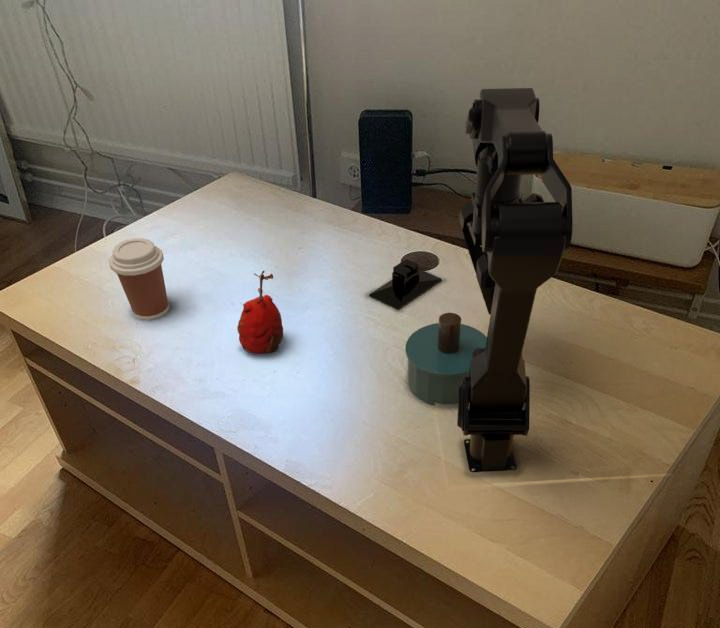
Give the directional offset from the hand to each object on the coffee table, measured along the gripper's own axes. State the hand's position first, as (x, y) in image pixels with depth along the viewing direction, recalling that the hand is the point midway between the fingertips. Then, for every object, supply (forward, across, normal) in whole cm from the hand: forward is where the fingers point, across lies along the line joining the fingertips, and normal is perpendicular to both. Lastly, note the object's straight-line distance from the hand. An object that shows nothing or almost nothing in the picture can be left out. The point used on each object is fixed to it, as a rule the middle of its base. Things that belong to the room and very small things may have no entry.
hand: (486, 295), depth 106 cm
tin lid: (+7, -4, +6) cm, 10 cm away
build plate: (+13, +23, +9) cm, 28 cm away
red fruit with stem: (+13, +9, +35) cm, 38 cm away
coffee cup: (+13, +22, +55) cm, 61 cm away
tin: (+13, -4, +6) cm, 14 cm away
